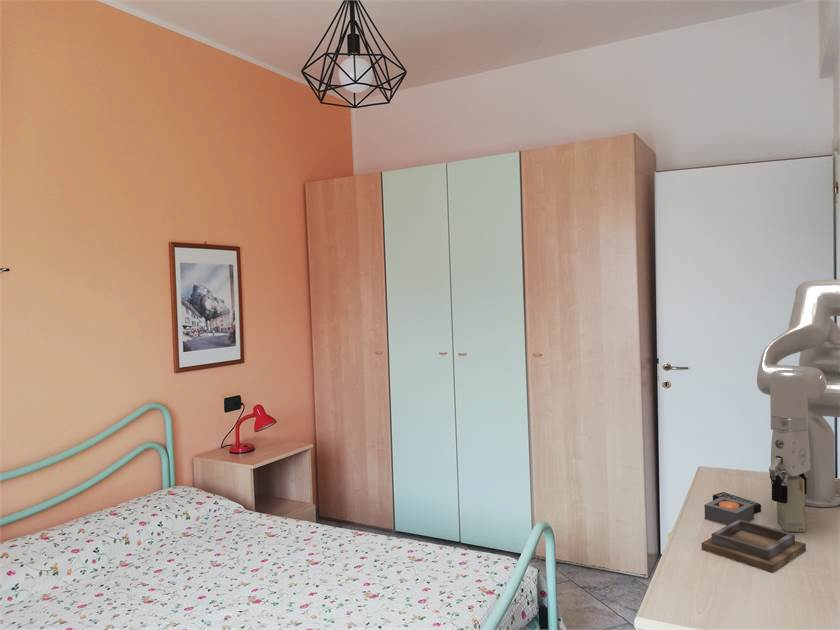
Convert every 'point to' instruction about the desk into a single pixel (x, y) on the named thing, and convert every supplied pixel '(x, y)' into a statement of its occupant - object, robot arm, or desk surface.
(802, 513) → the skincare box
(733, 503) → the button
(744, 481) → the desk surface
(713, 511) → the button housing
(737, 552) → the square wooden tray
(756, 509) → the multiport hub
